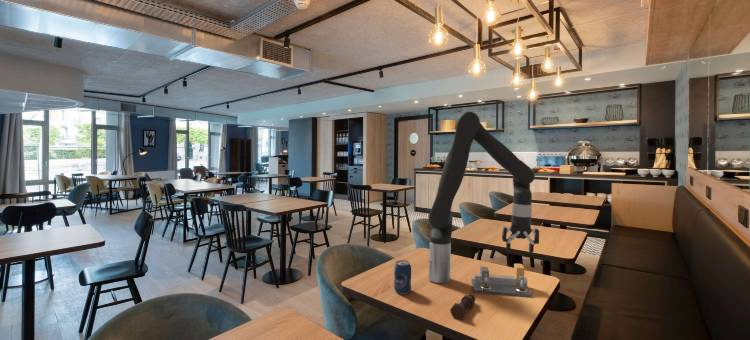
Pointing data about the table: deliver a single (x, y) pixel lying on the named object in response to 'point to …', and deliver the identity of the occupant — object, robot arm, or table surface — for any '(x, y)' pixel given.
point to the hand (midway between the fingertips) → (519, 252)
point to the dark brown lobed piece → (462, 307)
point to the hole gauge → (499, 284)
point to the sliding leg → (519, 272)
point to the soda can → (402, 277)
